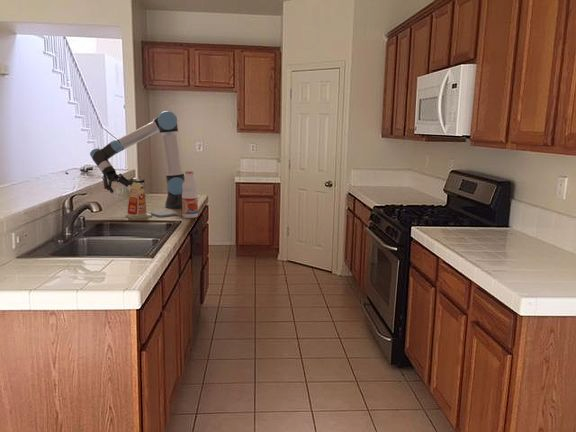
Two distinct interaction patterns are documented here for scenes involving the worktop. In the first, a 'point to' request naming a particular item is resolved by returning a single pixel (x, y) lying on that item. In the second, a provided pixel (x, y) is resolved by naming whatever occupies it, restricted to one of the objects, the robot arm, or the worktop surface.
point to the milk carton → (136, 201)
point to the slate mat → (163, 214)
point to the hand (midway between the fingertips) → (125, 195)
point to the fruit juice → (189, 196)
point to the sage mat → (139, 216)
